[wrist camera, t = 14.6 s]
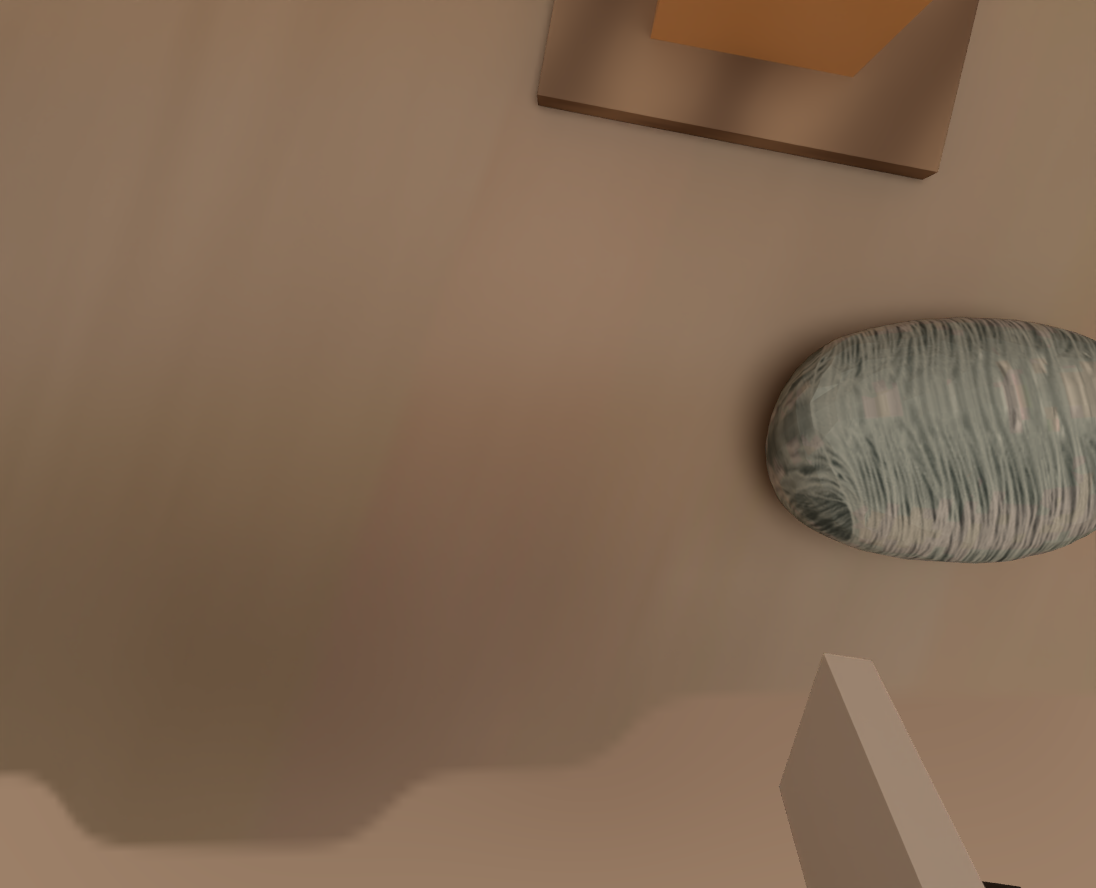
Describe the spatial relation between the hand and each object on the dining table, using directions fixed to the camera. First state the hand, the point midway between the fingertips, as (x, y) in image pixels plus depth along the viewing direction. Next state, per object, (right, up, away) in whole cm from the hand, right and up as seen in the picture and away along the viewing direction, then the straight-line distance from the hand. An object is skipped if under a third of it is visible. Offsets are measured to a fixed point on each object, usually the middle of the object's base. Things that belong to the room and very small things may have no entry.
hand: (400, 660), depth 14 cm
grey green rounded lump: (+18, +4, +23) cm, 29 cm away
